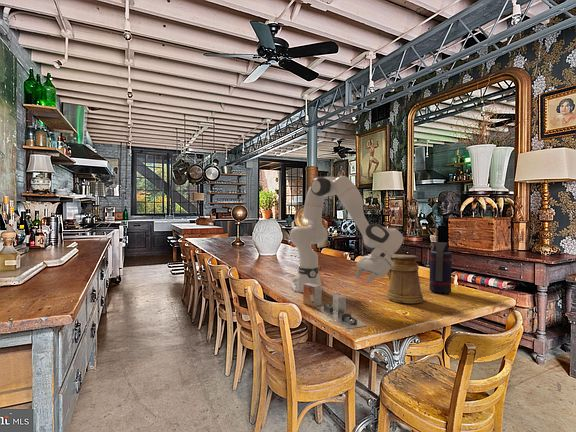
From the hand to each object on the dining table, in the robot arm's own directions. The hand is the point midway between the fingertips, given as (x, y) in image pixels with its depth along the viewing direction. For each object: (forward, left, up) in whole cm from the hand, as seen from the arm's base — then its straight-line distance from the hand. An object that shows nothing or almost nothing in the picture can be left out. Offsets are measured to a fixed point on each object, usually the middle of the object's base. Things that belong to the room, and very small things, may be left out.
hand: (362, 278), depth 158 cm
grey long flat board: (0, -12, -17) cm, 21 cm away
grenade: (-17, +66, -17) cm, 70 cm away
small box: (-21, -16, -17) cm, 32 cm away
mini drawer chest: (0, -12, -16) cm, 20 cm away
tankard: (-14, +35, -17) cm, 41 cm away
